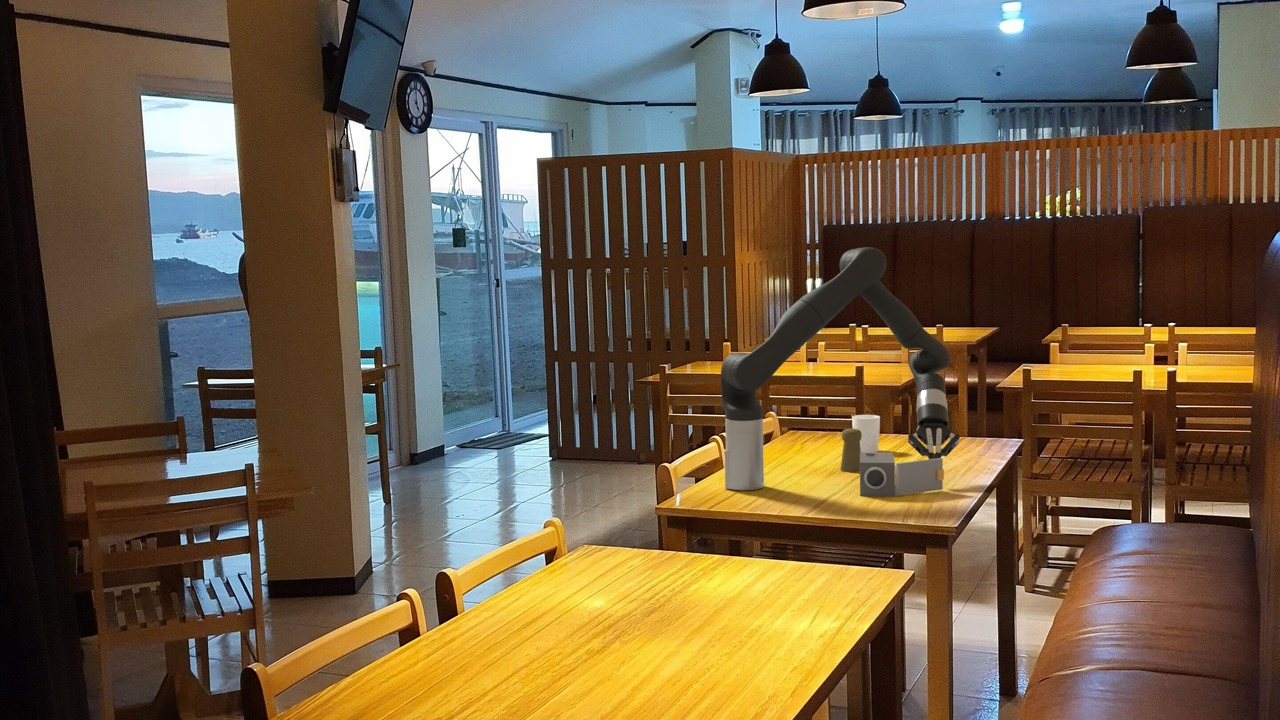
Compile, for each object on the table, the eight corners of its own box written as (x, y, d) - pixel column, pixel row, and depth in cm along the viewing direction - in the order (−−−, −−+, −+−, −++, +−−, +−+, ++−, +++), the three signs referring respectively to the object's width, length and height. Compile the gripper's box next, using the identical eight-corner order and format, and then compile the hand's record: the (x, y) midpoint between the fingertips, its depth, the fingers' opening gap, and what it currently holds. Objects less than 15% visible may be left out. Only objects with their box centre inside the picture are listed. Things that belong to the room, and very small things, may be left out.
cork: (856, 473, 308) (856, 431, 307) (836, 471, 312) (835, 429, 311) (867, 469, 313) (867, 428, 312) (846, 467, 317) (846, 426, 316)
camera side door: (894, 494, 279) (894, 463, 279) (940, 488, 285) (940, 458, 284) (898, 496, 278) (898, 464, 277) (944, 490, 283) (944, 459, 283)
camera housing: (860, 496, 280) (860, 460, 279) (859, 483, 295) (859, 449, 294) (894, 497, 278) (894, 461, 278) (892, 484, 293) (892, 450, 292)
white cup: (850, 453, 338) (850, 418, 337) (853, 448, 345) (853, 414, 344) (878, 454, 335) (878, 419, 334) (881, 449, 343) (881, 415, 342)
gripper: (905, 402, 296) (907, 459, 286) (960, 402, 294) (964, 460, 283) (904, 420, 302) (906, 476, 291) (958, 420, 300) (962, 477, 289)
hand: (935, 468), depth 287 cm, fingers closed
